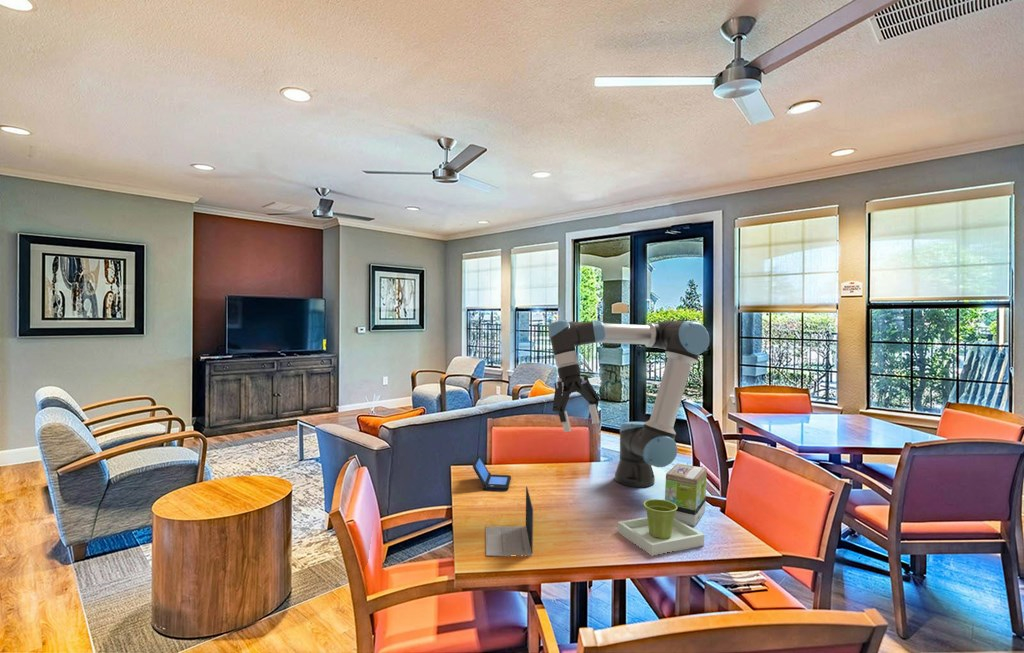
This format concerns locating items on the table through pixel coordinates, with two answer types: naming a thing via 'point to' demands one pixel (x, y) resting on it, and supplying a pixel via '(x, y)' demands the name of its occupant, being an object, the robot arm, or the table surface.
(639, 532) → the sage tray
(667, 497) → the tea box
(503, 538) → the laptop
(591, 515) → the table surface
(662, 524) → the plant pot
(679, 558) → the table surface
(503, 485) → the handheld game console
